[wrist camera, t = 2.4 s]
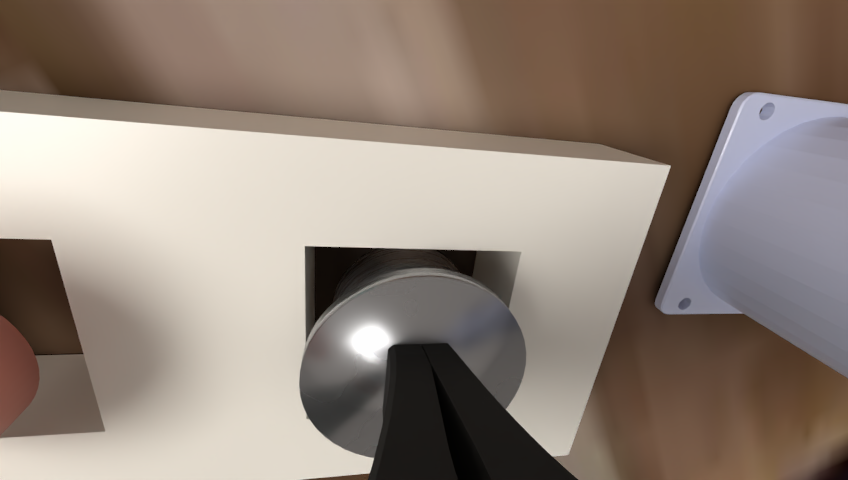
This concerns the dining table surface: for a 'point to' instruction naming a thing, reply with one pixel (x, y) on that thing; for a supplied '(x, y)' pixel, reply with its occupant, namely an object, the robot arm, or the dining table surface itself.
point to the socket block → (285, 271)
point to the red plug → (15, 374)
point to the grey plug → (401, 339)
